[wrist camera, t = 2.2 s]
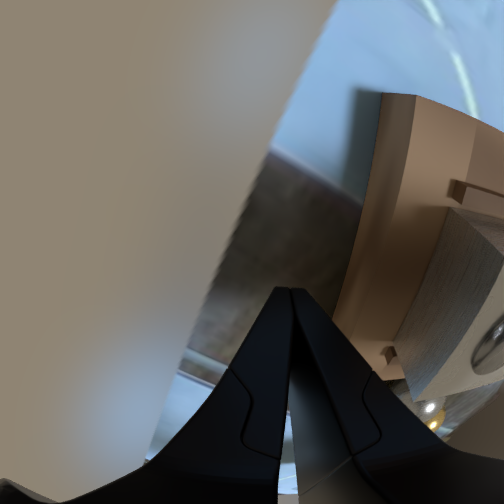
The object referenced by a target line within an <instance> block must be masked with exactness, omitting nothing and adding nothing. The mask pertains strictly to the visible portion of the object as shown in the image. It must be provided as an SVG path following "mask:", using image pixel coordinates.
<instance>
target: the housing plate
mask: <svg viewBox="0 0 504 504" xmlns="http://www.w3.org/2000/svg"><path fill="white" fill-rule="evenodd" d="M450 207H453V208H457V209H462V210H466V211H470V212H475V213H479V214H483V215H487V216H491V217H495V218H499V219H503V220H504V133H503V132H502V131H500V130H498V129H496V128H494V127H492V126H490V125H488V124H486V123H484V122H482V121H480V120H478V119H476V118H473V117H471V116H469V115H467V114H465V113H462V112H460V111H458V110H455V109H453V108H450V107H448V106H445V105H443V104H440V103H438V102H435V101H432V100H429V99H427V98H424V97H421V96H418V95H411V94H399V93H383V92H382V100H381V108H380V116H379V123H378V130H377V136H376V143H375V149H374V155H373V160H372V166H371V171H370V176H369V181H368V186H367V191H366V196H365V200H364V205H363V209H362V214H361V218H360V222H359V226H358V230H357V234H356V238H355V242H354V246H353V250H352V254H351V257H350V261H349V265H348V268H347V272H346V275H345V279H344V282H343V285H342V289H341V292H340V295H339V298H338V302H337V305H336V308H335V311H334V314H333V317H332V321H333V322H334V323H335V324H336V326H337V327H338V328H339V329H340V330H341V331H342V333H343V334H344V335H345V336H346V337H347V338H348V340H349V341H350V342H351V343H352V344H353V346H354V347H355V348H356V349H357V350H358V352H359V353H360V354H361V355H362V356H363V357H364V359H365V360H366V361H367V362H368V363H369V365H370V366H371V367H372V368H373V370H372V371H375V372H376V373H377V374H378V375H379V376H380V378H381V379H382V380H393V379H402V378H405V376H404V373H403V370H402V367H401V364H400V362H399V359H398V356H397V353H396V351H395V348H394V345H393V343H392V342H393V340H394V338H395V337H396V335H397V333H398V331H399V329H400V327H401V325H402V323H403V321H404V319H405V317H406V315H407V313H408V311H409V309H410V307H411V305H412V303H413V301H414V299H415V297H416V295H417V292H418V290H419V288H420V286H421V283H422V281H423V279H424V277H425V274H426V272H427V269H428V267H429V264H430V262H431V259H432V257H433V254H434V252H435V249H436V246H437V244H438V241H439V238H440V235H441V232H442V229H443V227H444V224H445V220H446V217H447V214H448V211H449V208H450Z"/></svg>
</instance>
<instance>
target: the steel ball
mask: <svg viewBox="0 0 504 504" xmlns="http://www.w3.org/2000/svg"><path fill="white" fill-rule="evenodd" d="M391 390H392V391H393V393H394V394H395V395H396V396H397V397H398V398H399V399H400V400H401V401H402V402H403V403H404V404H405V405H406V406H407V407H408V408H409V409H410V410H411V411H412V412H413V413H414V414H415V415H416V416H417V417H418V418H419V419H420V420H421V421H422V422H423V423H424V422H426V421H428V420H430V419H432V418H433V417H435V416H436V415H437V414H438V413H439V411H440V410H441V409H442V407H443V405H444V404H445V401H446V398H447V395H446V396H442V397H437V398H433V399H428V400H422V401H417V402H413V400H412V397H411V394H410V391H409V388H408V385H407V382H406V379H405V378H402V379H395V380H394V382H393V384H392V386H391Z"/></svg>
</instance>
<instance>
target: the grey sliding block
mask: <svg viewBox="0 0 504 504" xmlns="http://www.w3.org/2000/svg"><path fill="white" fill-rule="evenodd" d="M392 343H393V345H394V348H395V351H396V353H397V356H398V359H399V362H400V364H401V367H402V370H403V373H404V376H405V379H406V382H407V385H408V388H409V391H410V394H411V397H412V400H413V402H417V401H422V400H428V399H433V398H437V397H442V396H446V395H451V394H455V393H459V392H463V391H466V390H470V389H474V388H477V387H481V386H484V385H487V384H490V383H493V382H496V381H499V380H502V379H504V220H503V219H499V218H495V217H491V216H487V215H483V214H479V213H475V212H470V211H466V210H462V209H457V208H453V207H450V208H449V211H448V214H447V217H446V220H445V224H444V227H443V229H442V232H441V235H440V238H439V241H438V244H437V246H436V249H435V252H434V254H433V257H432V259H431V262H430V264H429V267H428V269H427V272H426V274H425V277H424V279H423V281H422V283H421V286H420V288H419V290H418V292H417V295H416V297H415V299H414V301H413V303H412V305H411V307H410V309H409V311H408V313H407V315H406V317H405V319H404V321H403V323H402V325H401V327H400V329H399V331H398V333H397V335H396V337H395V338H394V340H393V342H392Z"/></svg>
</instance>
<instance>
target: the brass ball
mask: <svg viewBox="0 0 504 504" xmlns="http://www.w3.org/2000/svg"><path fill="white" fill-rule="evenodd" d="M445 414H446V410H445V405H443V407H442V409H441V410H440V411H439V413H438V414H437V415H436V416H435V417H433V418H432V419H430V420H428V421H426V422H424V424H426V425H427V426H428V427H429V428H430V429H431V430H432V431H433V432H435V431H436V430H437V429H438V428H439V427H440V426H441V425H442V423H443V421H444V418H445Z"/></svg>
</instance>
